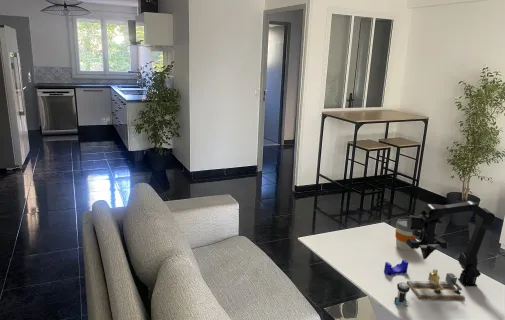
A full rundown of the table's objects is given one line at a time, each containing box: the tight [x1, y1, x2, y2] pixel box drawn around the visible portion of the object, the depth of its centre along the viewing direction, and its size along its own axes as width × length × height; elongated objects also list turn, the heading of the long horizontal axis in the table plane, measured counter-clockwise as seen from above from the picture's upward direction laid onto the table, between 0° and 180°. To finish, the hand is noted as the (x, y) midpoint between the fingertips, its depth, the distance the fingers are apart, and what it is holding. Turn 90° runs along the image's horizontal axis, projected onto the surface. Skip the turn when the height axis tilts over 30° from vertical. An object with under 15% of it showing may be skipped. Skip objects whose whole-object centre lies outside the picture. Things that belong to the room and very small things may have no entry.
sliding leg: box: [427, 268, 444, 292], centre depth 184 cm, size 3×10×7 cm, turn 3°
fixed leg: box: [444, 272, 463, 293], centre depth 185 cm, size 3×10×5 cm, turn 3°
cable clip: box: [383, 259, 409, 276], centre depth 200 cm, size 12×4×6 cm, turn 108°
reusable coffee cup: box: [395, 218, 417, 251], centre depth 228 cm, size 13×13×15 cm
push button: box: [394, 282, 411, 307], centre depth 173 cm, size 7×5×10 cm
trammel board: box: [406, 280, 466, 301], centre depth 185 cm, size 22×13×3 cm, turn 93°
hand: (424, 258), depth 192 cm, fingers closed
